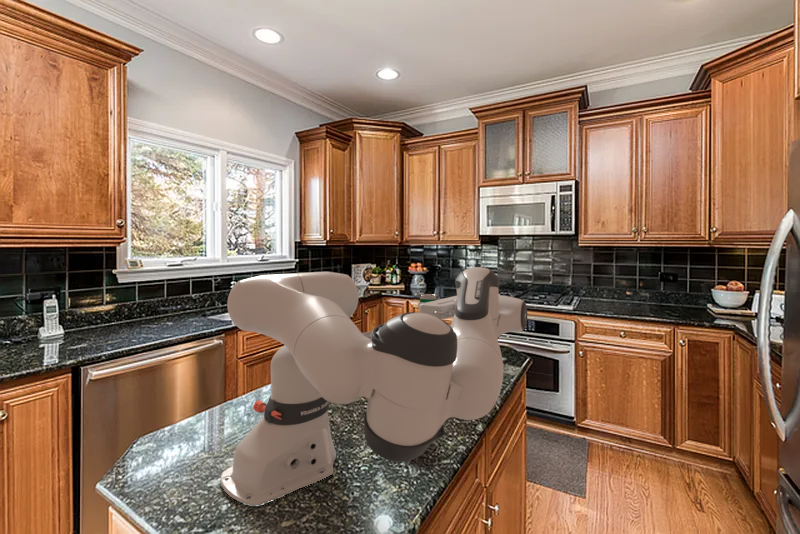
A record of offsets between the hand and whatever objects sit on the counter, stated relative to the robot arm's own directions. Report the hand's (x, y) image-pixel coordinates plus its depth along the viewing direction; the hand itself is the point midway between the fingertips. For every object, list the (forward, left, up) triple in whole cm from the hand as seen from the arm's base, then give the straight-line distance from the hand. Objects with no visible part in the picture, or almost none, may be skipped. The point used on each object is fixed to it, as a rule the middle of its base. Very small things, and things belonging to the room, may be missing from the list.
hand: (426, 303), depth 112 cm
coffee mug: (+11, +34, -27) cm, 45 cm away
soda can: (-1, -1, -9) cm, 10 cm away
